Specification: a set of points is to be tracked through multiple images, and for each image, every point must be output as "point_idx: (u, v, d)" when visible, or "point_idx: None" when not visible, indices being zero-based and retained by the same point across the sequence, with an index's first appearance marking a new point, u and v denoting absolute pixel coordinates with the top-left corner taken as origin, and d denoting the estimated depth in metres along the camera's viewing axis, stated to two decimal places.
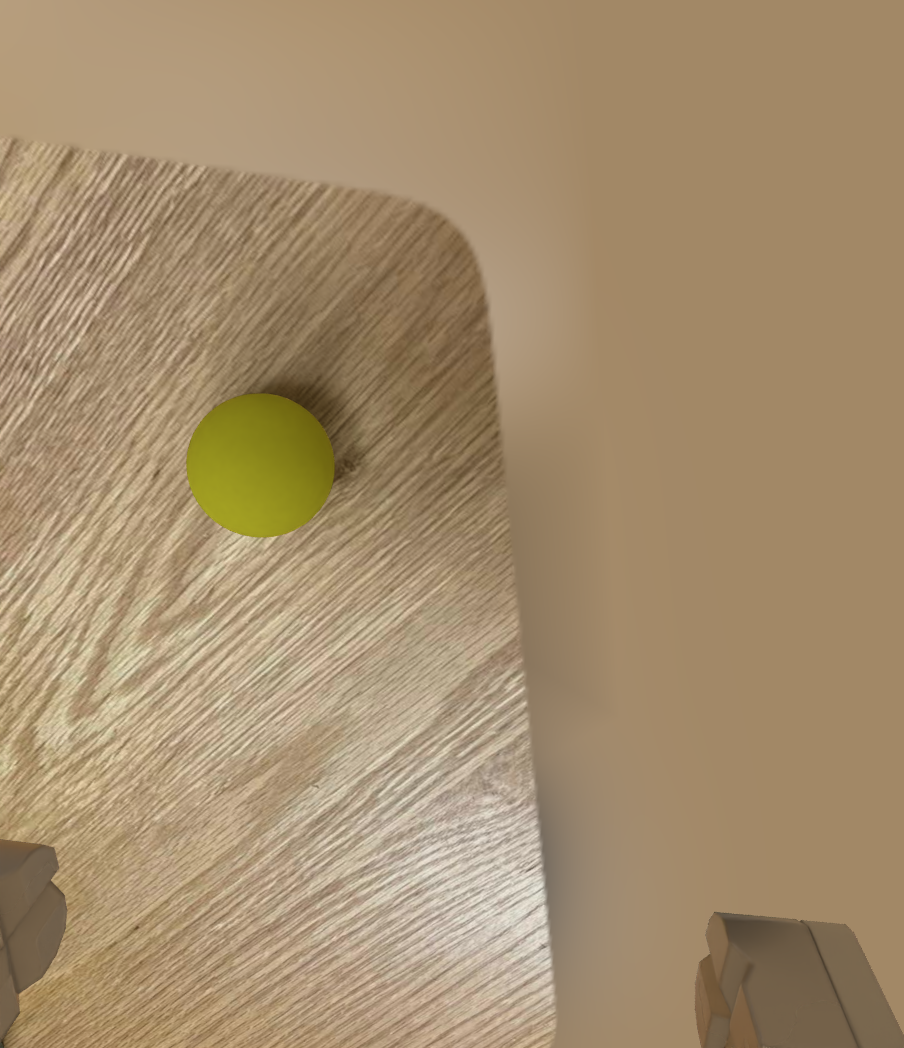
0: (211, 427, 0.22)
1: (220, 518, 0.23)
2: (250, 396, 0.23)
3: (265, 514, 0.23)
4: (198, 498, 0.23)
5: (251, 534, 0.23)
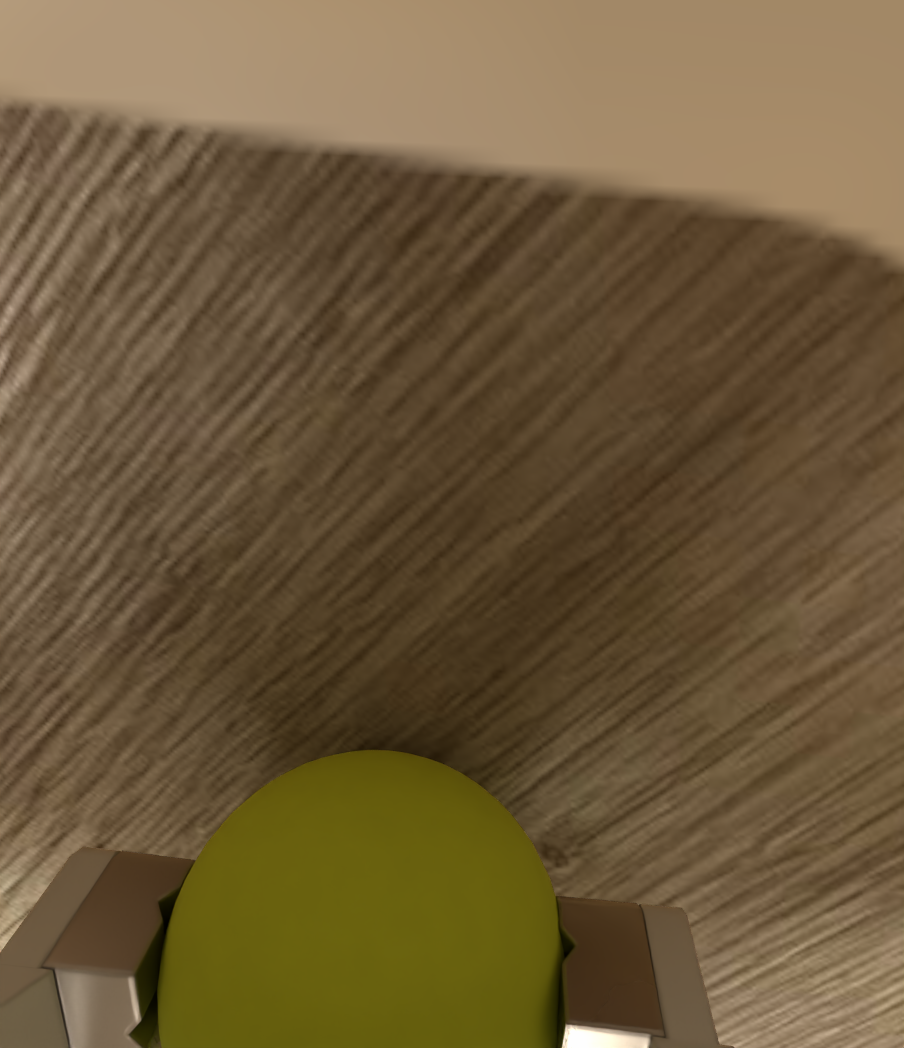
0: (231, 953, 0.07)
1: None
2: (346, 813, 0.08)
3: None
4: None
5: None
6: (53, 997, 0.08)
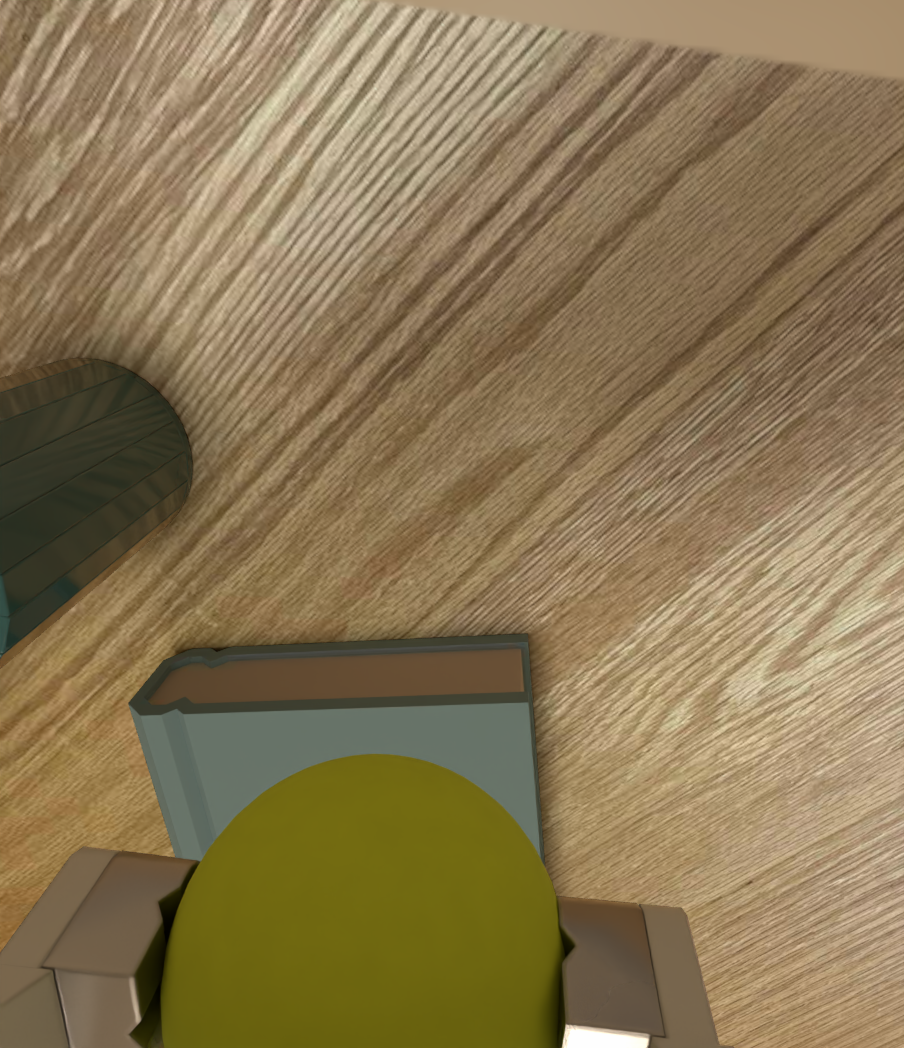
0: (234, 957, 0.07)
1: None
2: (349, 818, 0.08)
3: None
4: None
5: None
6: (53, 997, 0.08)
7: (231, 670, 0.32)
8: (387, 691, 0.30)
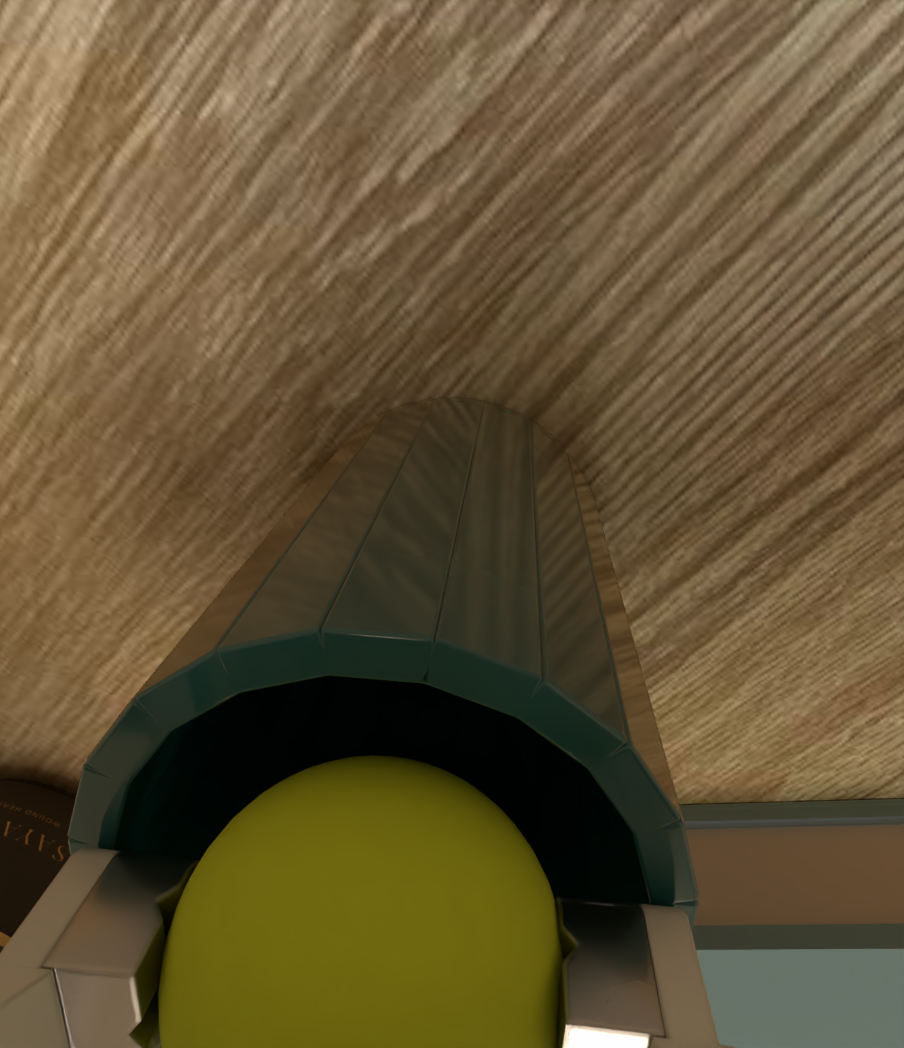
0: (232, 958, 0.07)
1: None
2: (347, 819, 0.08)
3: None
4: None
5: None
6: (54, 997, 0.08)
7: None
8: None
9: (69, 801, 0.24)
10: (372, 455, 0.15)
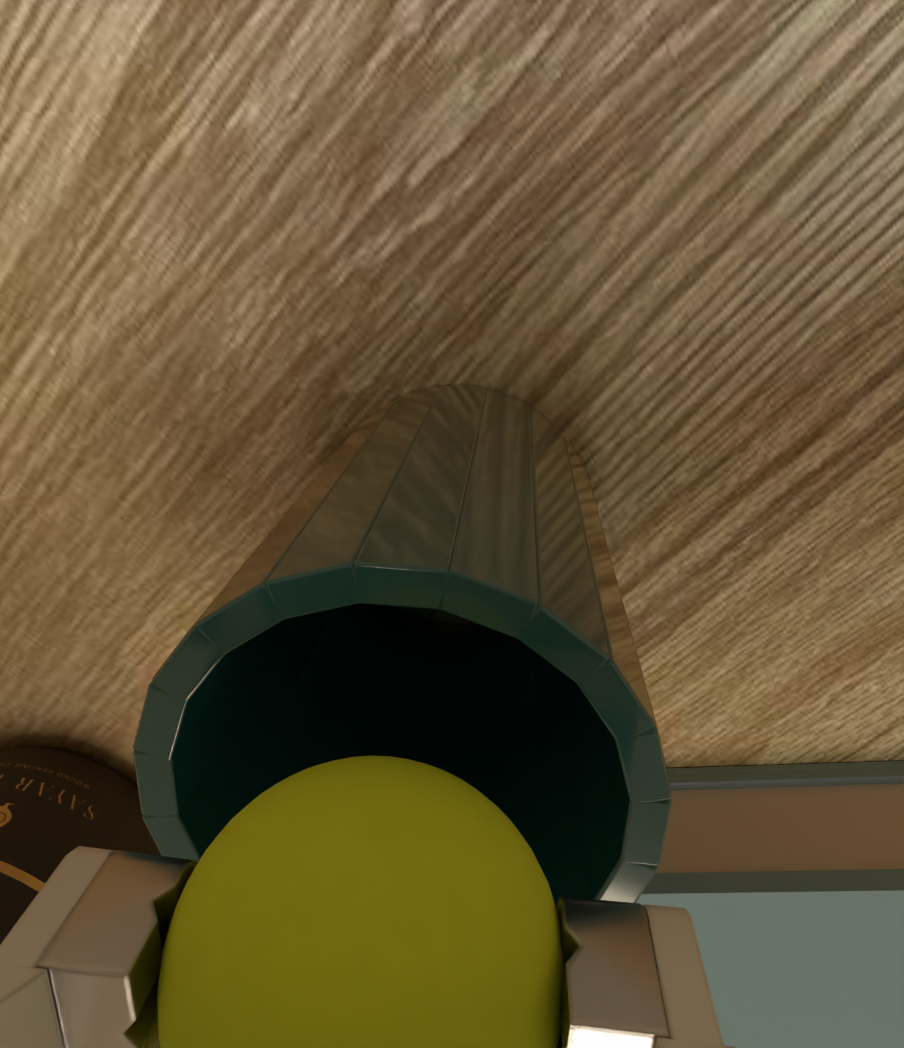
0: (230, 959, 0.07)
1: None
2: (346, 820, 0.08)
3: None
4: None
5: None
6: (47, 997, 0.08)
7: None
8: (889, 854, 0.21)
9: (97, 766, 0.26)
10: (386, 433, 0.16)
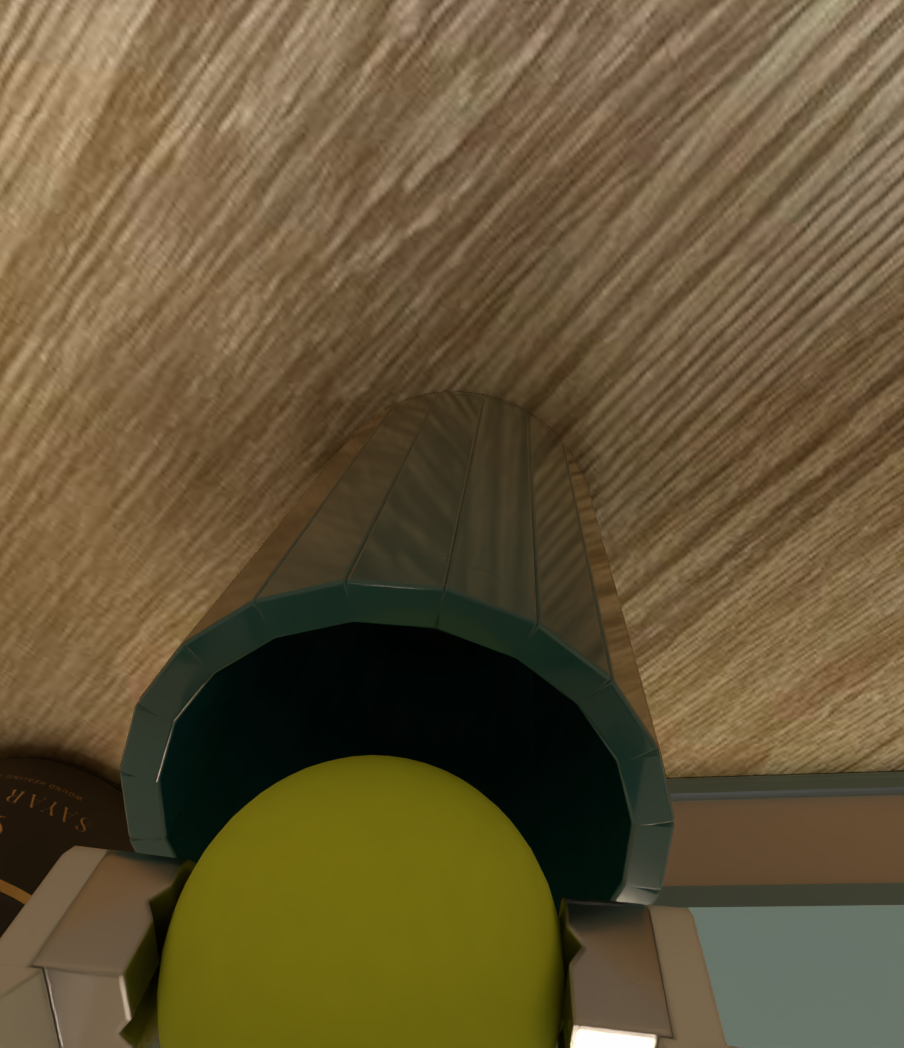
0: (229, 957, 0.07)
1: None
2: (345, 819, 0.08)
3: None
4: None
5: None
6: (43, 996, 0.08)
7: None
8: (892, 867, 0.21)
9: (89, 777, 0.25)
10: (382, 442, 0.16)
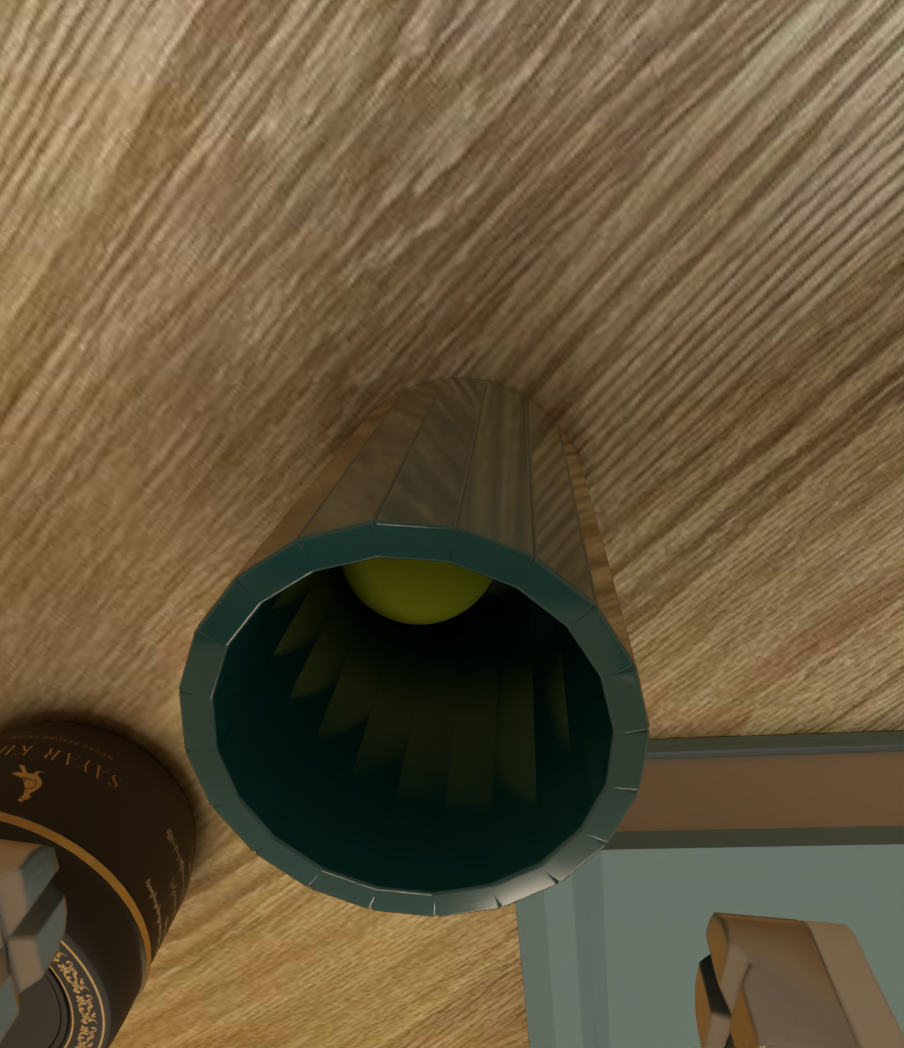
0: None
1: (359, 597, 0.21)
2: None
3: (399, 607, 0.20)
4: None
5: (391, 619, 0.21)
6: None
7: None
8: (859, 814, 0.23)
9: (118, 740, 0.27)
10: (396, 420, 0.18)
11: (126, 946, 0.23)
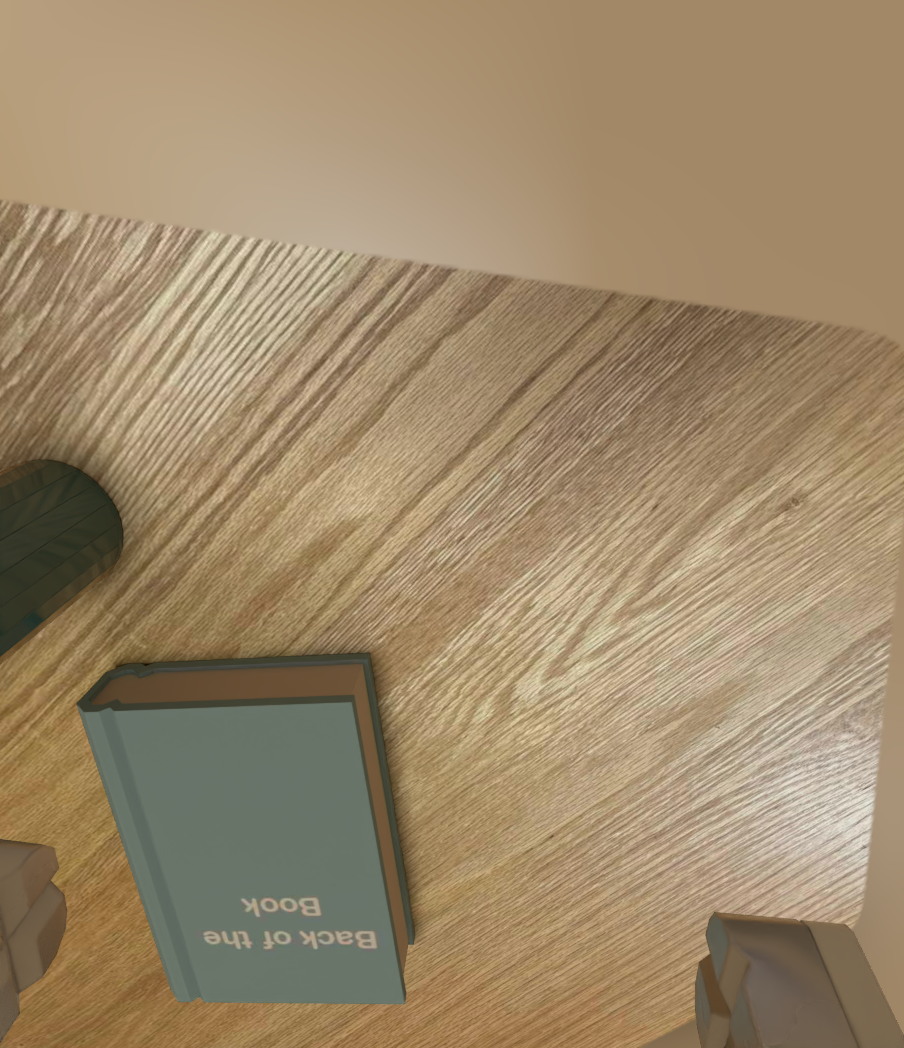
0: None
1: None
2: None
3: None
4: None
5: None
6: None
7: (154, 679, 0.45)
8: (260, 694, 0.42)
9: None
10: None
11: None
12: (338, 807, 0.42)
